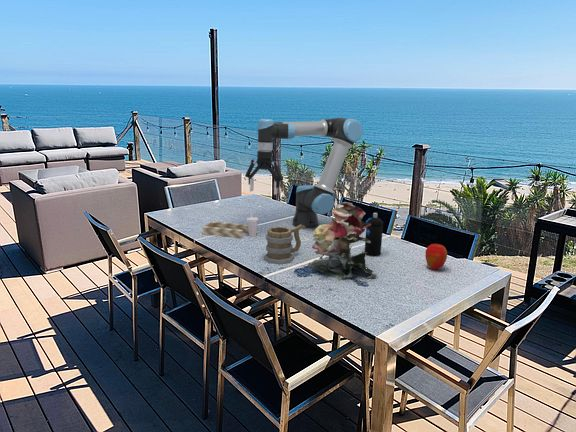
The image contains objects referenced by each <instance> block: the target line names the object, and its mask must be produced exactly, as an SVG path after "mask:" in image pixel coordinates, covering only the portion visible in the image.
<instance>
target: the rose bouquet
mask: <svg viewBox="0 0 576 432" xmlns="http://www.w3.org/2000/svg"><path fill="white" fill-rule="evenodd" d="M331 213H332V214H333V216H334V217H331V221H330V223H326V224H325V223H324V224H318V226H316V227H315V229H314V230H312V231H313V235H312V236H313V239H312V240H313V241H314V243H313V245H312V247H311V248H312V249H314V254H316V255H320V257H319V258H318V259H314V260H313V261H312V262H311V265H310V266H311V268H312V269H313V270H317V271H318V272H322V274H324V275H325V278H328V277H329V276H332V277H333V278H334V279H335V280H338V281H343V280H344V279H345V278H358V275H355V274H353V273H352V269H355V270H359V271H364V272H365V273H367V274H368V275H370V276H367V277H366V278H367V279H368V278H369V279H377V278H378V276H377V275H376V273H374V271H373V270H372V269H370V268H369V267H368V266H367V267H366V255H365V254H366V252H364V251H362V252H361V253H358V254H356V255H354V256H351V255H352V254H351V249H352V247H351V244H355V243H357V242H359V241H360V242H364V243H365V242H367V243H371V242H370V241H369V240H368V239H366V238H365V237H363V236H360V235H362V234H363V233H364V232H365V234H366V233H370V232H366V228H367V227H368V226H370V225H371V223H366V222H364V221H362V220H363V217H364V216H365V215H366V212H365V211H364V210H363V209H362V208H360V207H358V206H356V205H353V203H352V202H347V201H344V202H342V203H341V202H340V203H339V202H338V203H337V205H335V208H332V209H331ZM324 256H326V257H328V259H324V258H323V257H324ZM336 259H337V260H336ZM369 266H370V265H369ZM341 267H342V269H341ZM366 268H367V269H366Z"/></svg>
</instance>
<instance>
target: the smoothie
mask: <svg viewBox="0 0 576 432" xmlns="http://www.w3.org/2000/svg"><path fill="white" fill-rule="evenodd" d="M258 221H259V217H257V216H253V210H252V209H251V210H250V216H249V217H248V216H247V218H246V223H247V224H246V225H248V231H249V233H248V236H249V237H251V238H254V237H257V230H258V229H257V228H258Z"/></svg>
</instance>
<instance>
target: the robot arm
mask: <svg viewBox="0 0 576 432" xmlns="http://www.w3.org/2000/svg"><path fill="white" fill-rule="evenodd" d="M303 136H307V137H308V136H320V137H322V138H323V137H325V138H327V137H328V138H332V140H333V145H332V147H331V150H330V152H329V155H328V157H327V160H326V161H325V165H324V168H323V170H322V173H321V175H320V178H319V180H318V183H317V184H314V185H310V184H309V185H299V186H297V187H296V191H295V195H296V196H295V213H294V215H293V219H292V226H294V227H297V226H298V225H300V224H301V225H303V226H305V229H312V228H317V227H318V226H319V219H318V215H317V214H319V215H326V214H327V213H329V212H330V211H332V209H334V208H333V207H334V205H335V200H334V197H333V196H334V194H335V193H334V190H333V189H334V187H335V184H336V182H337V180H338V177H339V174H340V171H341V169H342V166H343V165H344V161H345V160H346V159H345V158H346V157H347V154H348V153H349V149H351V148H353V147H354V144H355V142H357V141H360V139H361V138H362V136H363V126H362V124H361V123H360V121H359V120H357V119H355V118H346V117H345V118H344V117H334V118H327V119H324V118H323V119H320V120H318V121H316V120H314V121H274V119H270V118H268V119H267V118H260V119H259V120H258V123H257V151H256V152H257V153H256V159H254V158H253V159H251V161H250V165H249V167H248V169H247V171H246V173H245V175H244V177H245V178H248V185H249V192H253V191H254V188H255V187H254V181H255V178H254V176H255V175H256V174H257V173H258V172H259V170H265V171H269V173H270V174H271V176H272V178H273V179H274V180H275V181H274V184H273V185H274V187H273V195H274V196H275V195H278V194H279V193H278V192H279V191H278V190H279V188H280V186H281V185H280V182H281V181H283V180H284V177H283V175H282V172H281V170H280V167H279V161H273V143H274V142H273V141H274V140H279V139H280V140H281V139H282V140H289V139H290V140H292V139H294V138H295V137H303ZM256 164H257V166H255V165H256ZM273 167H274V168H273ZM253 169H254V170H253Z"/></svg>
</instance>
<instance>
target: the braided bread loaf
mask: <svg viewBox="0 0 576 432" xmlns="http://www.w3.org/2000/svg"><path fill="white" fill-rule="evenodd" d="M244 234H249V231H248V224H244V223H243V224H242V223H233V222H232V223H231V222H221V221H214V220H213V221H211V222H209V223H207V224H206V225H204V226H202V235H206V236H215V237H224V238H226V237H227V238H234V239H243V237H244Z"/></svg>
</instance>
